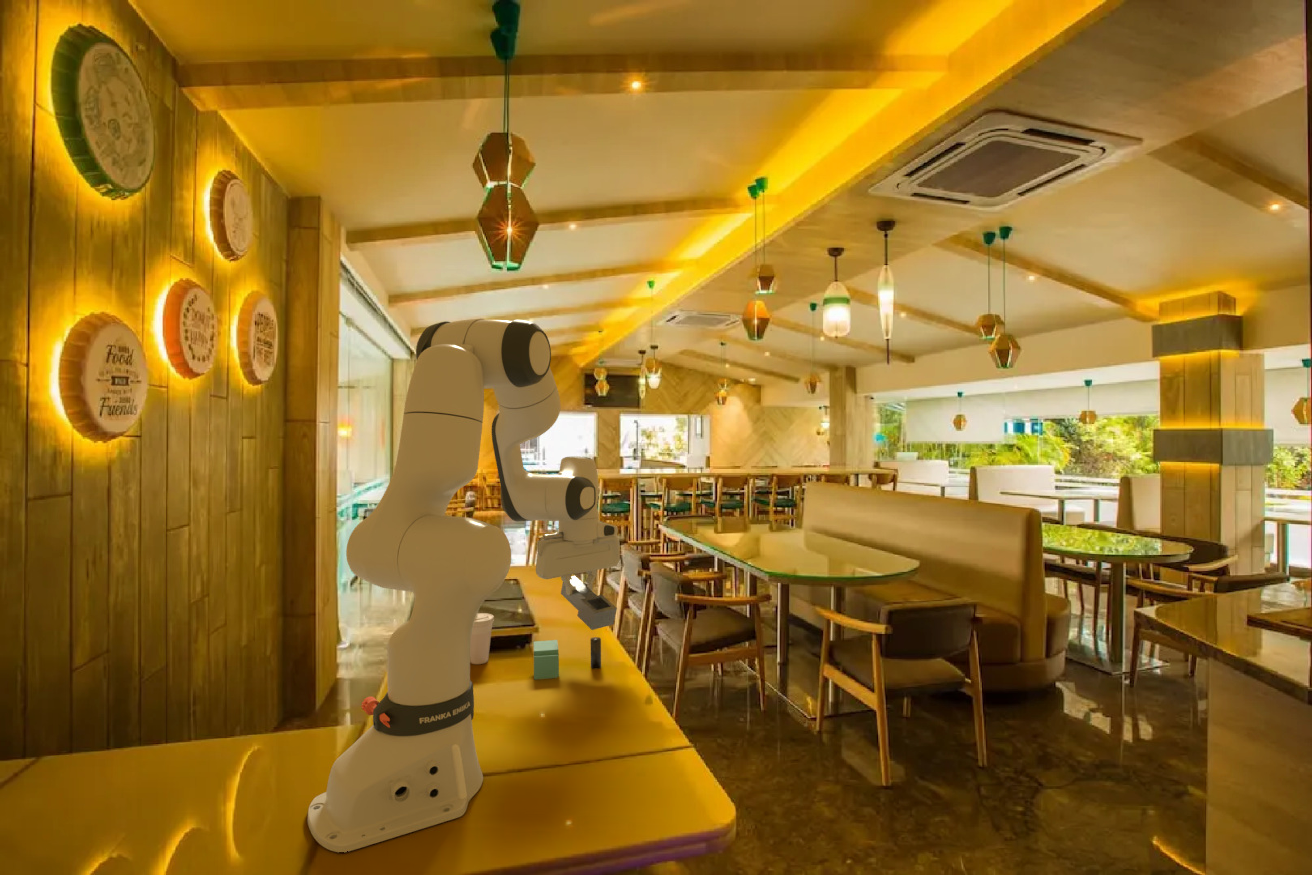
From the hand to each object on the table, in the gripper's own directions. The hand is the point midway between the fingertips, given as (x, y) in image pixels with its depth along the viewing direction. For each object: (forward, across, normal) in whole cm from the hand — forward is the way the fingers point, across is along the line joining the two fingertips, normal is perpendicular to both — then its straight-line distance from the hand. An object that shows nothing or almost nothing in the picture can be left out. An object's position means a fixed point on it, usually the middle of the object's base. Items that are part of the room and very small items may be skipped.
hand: (579, 592), depth 139 cm
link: (+3, 0, -2) cm, 4 cm away
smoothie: (+15, -17, +14) cm, 27 cm away
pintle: (+15, 0, -6) cm, 16 cm away
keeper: (+15, -9, -1) cm, 17 cm away
